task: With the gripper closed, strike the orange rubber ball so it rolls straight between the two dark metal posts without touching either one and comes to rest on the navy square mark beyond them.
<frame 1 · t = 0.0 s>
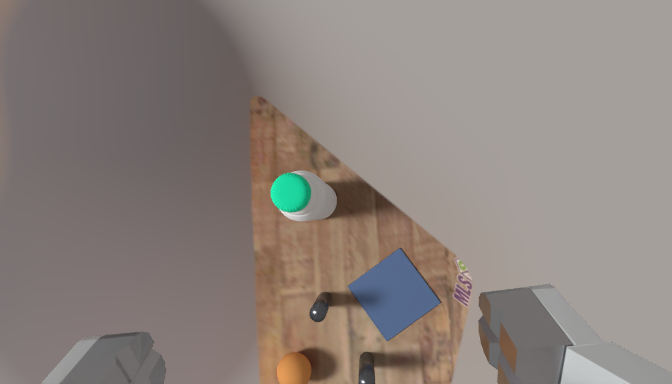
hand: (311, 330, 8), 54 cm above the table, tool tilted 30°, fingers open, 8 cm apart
ball: (294, 371, 58), on the table
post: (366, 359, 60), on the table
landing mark: (393, 294, 61), on the table
water bottle: (319, 201, 63), on the table
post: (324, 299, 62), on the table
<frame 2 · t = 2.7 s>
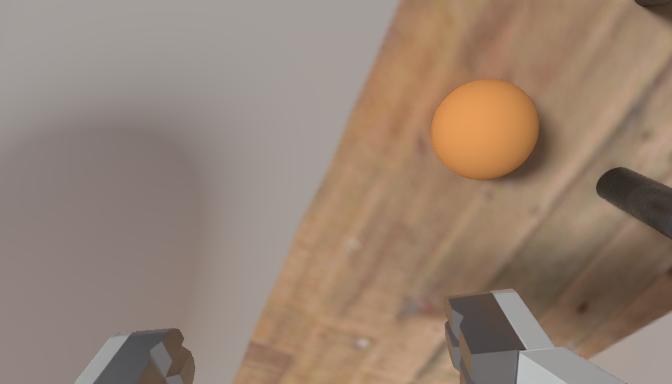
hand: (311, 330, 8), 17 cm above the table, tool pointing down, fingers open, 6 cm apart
ball: (481, 130, 20), on the table
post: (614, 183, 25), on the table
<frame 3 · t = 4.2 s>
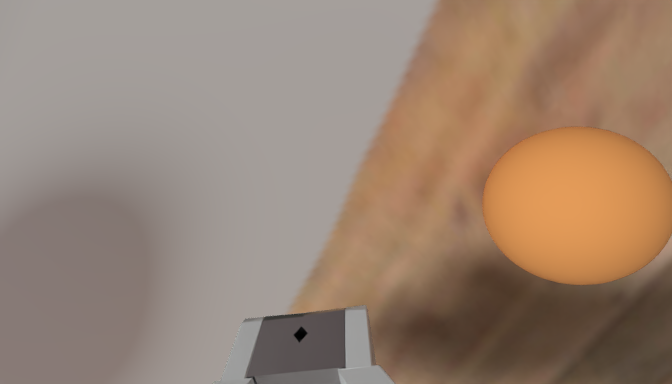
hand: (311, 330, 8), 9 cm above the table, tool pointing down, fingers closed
ball: (566, 205, 13), on the table
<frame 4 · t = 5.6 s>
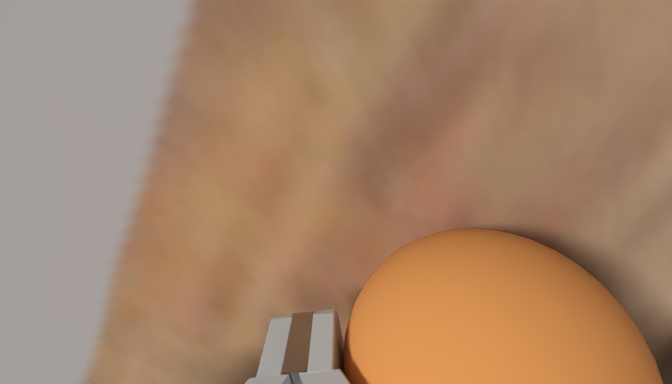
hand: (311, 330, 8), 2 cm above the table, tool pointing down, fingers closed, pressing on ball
ball: (478, 364, 7), on the table, touching gripper
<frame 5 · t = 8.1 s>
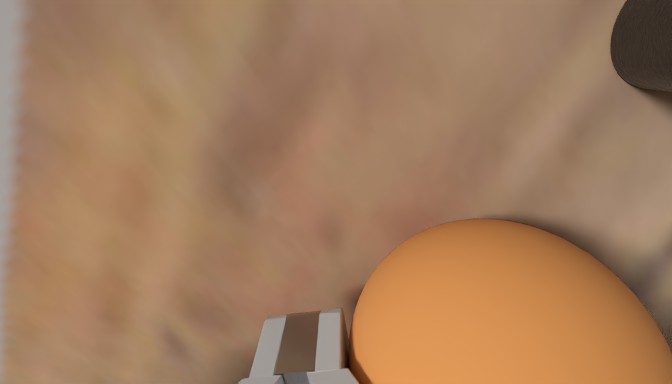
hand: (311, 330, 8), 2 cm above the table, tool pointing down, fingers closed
ball: (486, 357, 7), on the table, touching gripper
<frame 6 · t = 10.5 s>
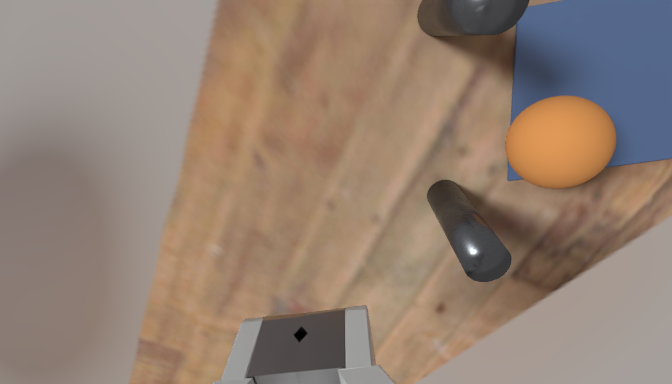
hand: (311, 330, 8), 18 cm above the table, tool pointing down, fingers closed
ball: (556, 142, 22), on the table
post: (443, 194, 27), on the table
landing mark: (600, 89, 23), on the table
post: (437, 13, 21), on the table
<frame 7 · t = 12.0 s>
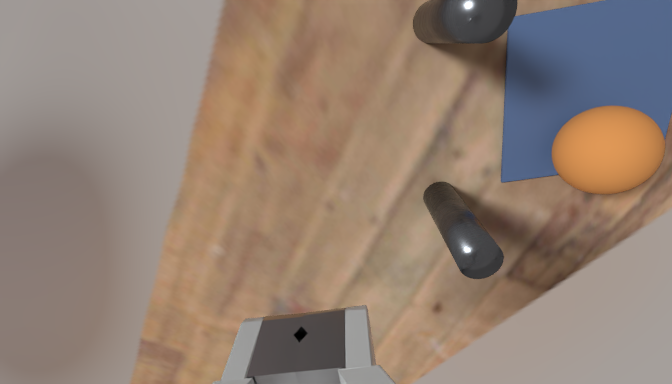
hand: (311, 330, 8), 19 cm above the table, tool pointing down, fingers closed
ball: (603, 150, 23), on the table
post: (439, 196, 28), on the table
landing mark: (588, 94, 24), on the table
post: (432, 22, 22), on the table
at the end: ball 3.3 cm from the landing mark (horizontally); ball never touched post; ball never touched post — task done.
